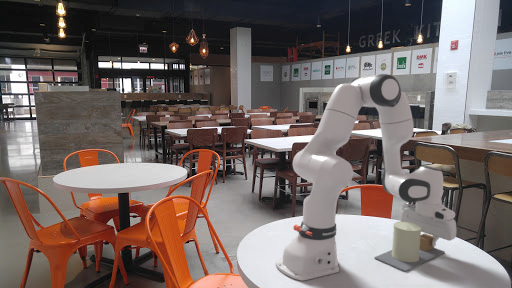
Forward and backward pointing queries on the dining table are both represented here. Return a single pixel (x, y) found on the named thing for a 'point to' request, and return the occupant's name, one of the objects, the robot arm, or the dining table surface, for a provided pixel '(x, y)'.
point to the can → (406, 241)
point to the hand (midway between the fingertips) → (425, 243)
